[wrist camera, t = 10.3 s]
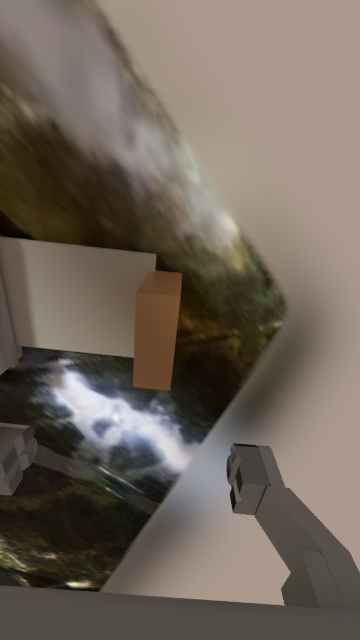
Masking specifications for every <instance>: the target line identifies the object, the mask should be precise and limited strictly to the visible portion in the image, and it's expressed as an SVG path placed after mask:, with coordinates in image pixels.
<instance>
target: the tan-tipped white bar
mask: <svg viewBox="0 0 360 640" xmlns="http://www.w3.org/2000/svg"><path fill="white" fill-rule="evenodd" d="M156 256H157V254H153V253H144V252H135V251H126V250H117V249H108V248H100V247H91V246H82V245H73V244H64V243H55V242H46V241H37V240H29V239H20V238H11V237H2V236H0V273H1V278H2V283H3V288H4V293H5V298H6V303H7V308H8V313H9V318H10V323H11V328H12V333H13V338H14V343H15V345H16V346H26V347H36V348H45V349H55V350H65V351H75V352H84V353H94V354H104V355H114V356H123V357H133V358H134V373H133V387H138V388H148V389H158V390H168V391H170V387H171V378H172V369H173V360H174V351H175V343H176V334H177V325H178V316H179V307H180V298H181V283H182V273H176V272H167V271H158V270H156Z"/></svg>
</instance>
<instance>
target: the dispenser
mask: <svg viewBox="0 0 360 640" xmlns="http://www.w3.org/2000/svg"><path fill="white" fill-rule="evenodd" d="M0 236H1V234H0ZM21 356H23V352H22V347H21V346H16V345H15V343H14V338H13V333H12V328H11V323H10V318H9V313H8V308H7V303H6V298H5V293H4V288H3V283H2V278H1V273H0V375H1V374H2V373H3V372H4V371H5V370H7V369H8V368H9V367H10V368H14V367H15V366H16V365H18V364H19V363H18V359H19V358H20V357H21Z"/></svg>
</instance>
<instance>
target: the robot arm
mask: <svg viewBox="0 0 360 640" xmlns="http://www.w3.org/2000/svg"><path fill="white" fill-rule="evenodd" d="M34 433H35V431H34V428H33V426H25V425H16V424H7V423H0V495H12V494H13V492H14V491H15V489H16V487H17V486H18V484H19V482H20V481H21V479H22V478H23V473H22V471H23V470H24V469H26V468H27V467H28V466H30V464H31V462H32V461H33V459H34V457H35V454H36V451H37V440H36V439H35V438H34V437H33V434H34ZM230 450H231V456H229V457H228V460H227V478H228V483H229V484H230V485H231V487H232V489H231V492H230V498H231V504H232V510H233V513H238V514H247V515H255V518H256V519H257V521H258V522H259V524H260V526H261V527H262V528H263V530H264V532H265V533H266V535H267V536H268V538H269V539H270V541H271V543H272V544H273V546H274V547H275V549H276V550H277V552H278V553H279V555H280V556H281V558H282V559H283V561H284V563H285V564H286V566H287V567H288V569H289V570H290V572H291V573H290V575H289V577H288V578H287V580H286V582H285V583H284V585H283V587H282V588H281V591H282V596H283V600H284V604H285V606H283V605H269V604H255V603H241V602H226V601H213V600H198V599H185V598H170V597H157V596H143V595H128V594H113V593H100V592H86V591H72V590H58V589H44V588H30V587H16V586H2V585H0V640H360V573H359V570H358V568H357V566H356V564H355V562H354V560H353V558H352V556H351V554H350V552H349V551H348V550H347V549H346V548H345V547H344V546H343V545H342V544H341V543H340V542H339V541H338V540H337V539H336V537H335V536H334V535H333V534H332V533H331V532H330V531H329V530H328V529H327V528H326V527H325V526H324V525H323V524H322V522H321V521H320V520H319V519H318V518H317V517H316V516H315V515H314V514H313V513H312V512H311V511H310V510H309V509H308V508H307V507H306V505H305V504H304V503H303V502H302V501H301V500H300V499H299V498H298V497H297V496H296V495H295V494H294V493H293V492H292V491H291V489H290V488H285V485H284V482H283V480H282V477H281V474H280V471H279V469H278V466H277V463H276V461H275V458H274V455H273V453H272V450H271V448H270V447H269V446H256V445H248V444H234V443H233V444H232V446H231V449H230Z"/></svg>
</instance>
